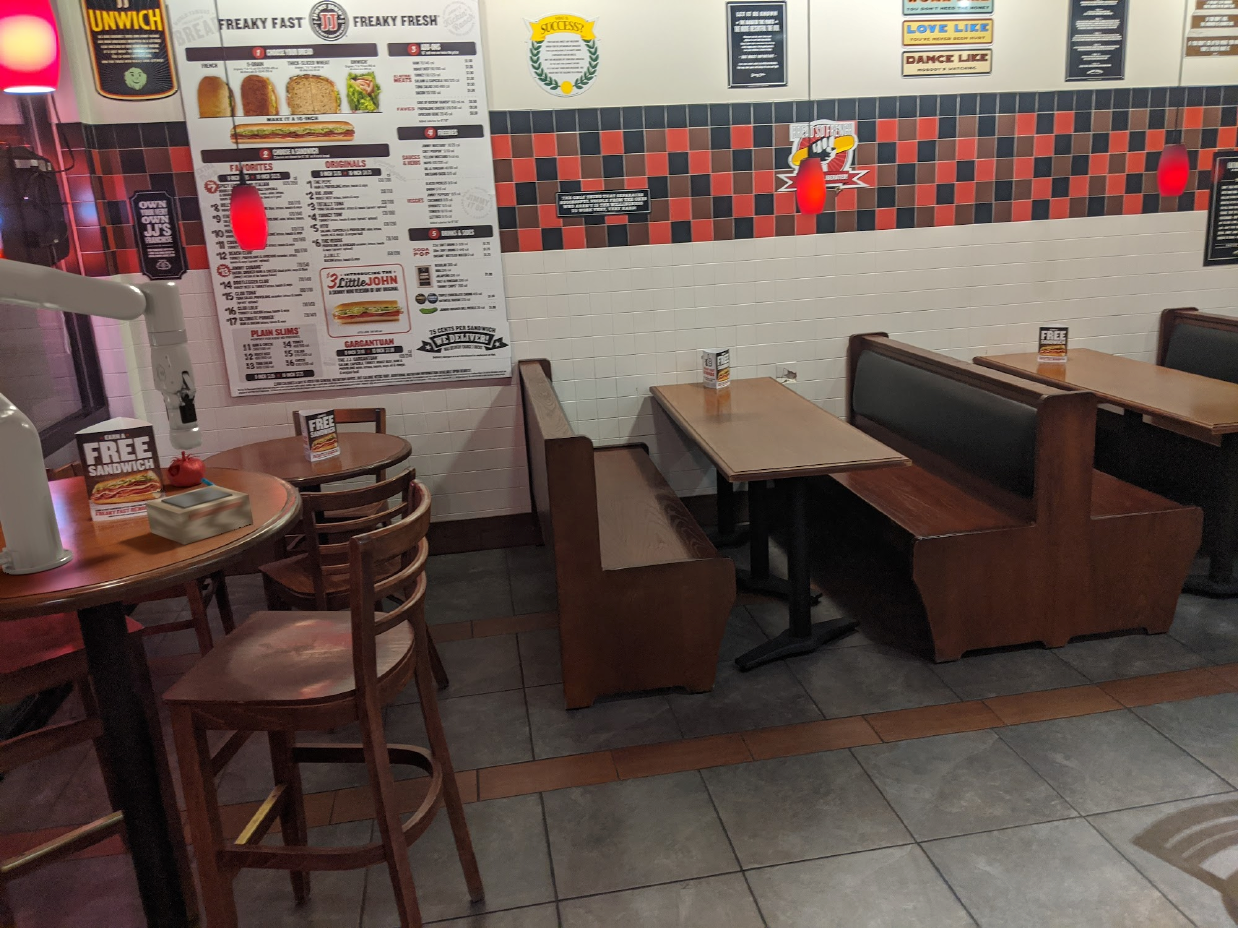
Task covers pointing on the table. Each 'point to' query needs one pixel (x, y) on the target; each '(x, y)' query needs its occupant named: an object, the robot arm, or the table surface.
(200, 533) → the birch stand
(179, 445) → the plastic bottle
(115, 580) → the table surface
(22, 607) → the table surface
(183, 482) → the pomegranate
